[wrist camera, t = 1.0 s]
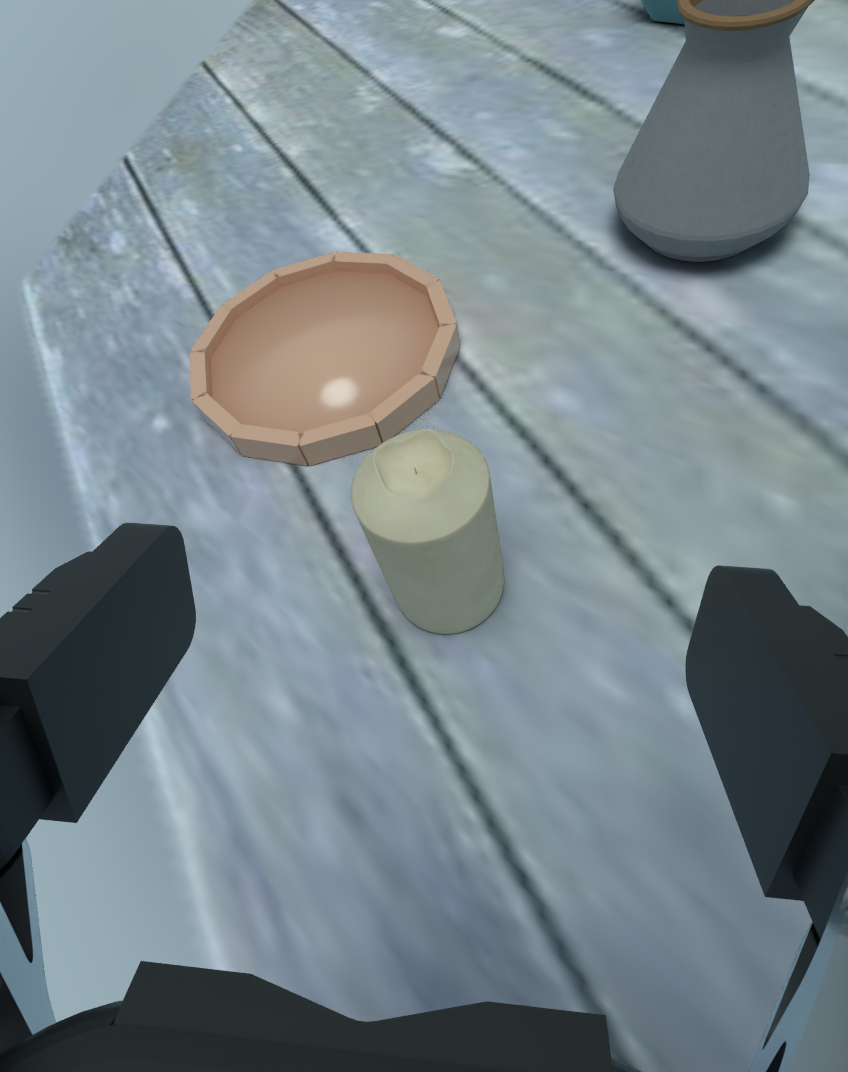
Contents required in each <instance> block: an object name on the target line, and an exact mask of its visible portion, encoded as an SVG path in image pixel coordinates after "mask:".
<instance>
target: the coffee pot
mask: <svg viewBox="0 0 848 1072" xmlns="http://www.w3.org/2000/svg"><path fill="white" fill-rule="evenodd" d="M813 1H814V0H678V3H677V6H678V10H679V13H680V16H682V17H683V18H684V19H685V34H686V42H685V44H684V46H683V48H682V50H681V52H680V53H679V55H678V57H677V59H676V61H675V63H674V65H673V67H672V69H671V71H670V73H669V75H668V77H667V79H666V81H665V83H664V85H663V87H662V89H661V91H660V92H659V94H658V96H657V98H656V100H655V102H654V104H653V106H652V108H651V110H650V112H649V114H648V116H647V118H646V120H645V122H644V124H643V126H642V128H641V129H640V131H639V133H638V135H637V137H636V139H635V141H634V143H633V145H632V147H631V149H630V151H629V153H628V155H627V157H626V159H625V161H624V163H623V165H622V167H621V168H620V170H619V173H618V176H617V179H616V182H615V186H614V196H615V203H616V208H617V210H618V212H619V215H620V217H621V219H622V220H623V222H624V223H625V225H626V226H627V228H628V229H629V230H630V231H631V232H632V233H633V234H634V235H636V236H637V237H638V238H639V239H641V240H642V241H643V242H645V243H646V245H648V246H649V247H650V248H652V249H653V250H654V251H655V252H657V253H660V254H662V255H664V256H666V257H669V258H673V259H678V260H682V261H694V262H705V261H715V260H720V259H724V258H728V257H731V256H734V255H736V254H738V253H741V252H743V251H745V250H747V249H748V248H749V247H751V246H753V245H756V244H758V243H760V242H762V241H763V240H765V239H767V238H769V237H771V236H772V235H774V234H775V233H776V232H777V231H778V230H780V229H781V228H782V227H783V226H784V225H786V224H787V223H788V222H789V221H790V219H791V218H792V217H793V216H794V215H795V214H796V213H797V211H798V210H799V208H800V206H801V205H802V203H803V201H804V200H805V198H806V196H807V194H808V186H809V168H808V161H807V154H806V148H805V141H804V134H803V127H802V120H801V114H800V107H799V100H798V93H797V86H796V80H795V73H794V66H793V59H792V52H791V46H790V39H789V36H790V34H791V33H792V31H793V29H794V28H795V26H796V25H797V23H798V22H799V20H800V19H801V17H802V15H803V14H804V12H805V11H806V9H807V8H808V6H809V5H810V4H811V3H812V2H813Z"/></svg>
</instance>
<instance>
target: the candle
mask: <svg viewBox="0 0 848 1072" xmlns="http://www.w3.org/2000/svg"><path fill="white" fill-rule="evenodd" d="M351 502H352V506H353V509H354V512H355V514H356V516H357V518H358V520H359V523H360V525H361V527H362V529H363V531H364V533H365V536H366V538H367V540H368V542H369V544H370V546H371V549H372V551H373V553H374V555H375V557H376V559H377V562H378V564H379V566H380V568H381V570H382V572H383V575H384V577H385V579H386V581H387V583H388V585H389V588H390V590H391V592H392V594H393V596H394V598H395V600H396V602H397V604H398V606H399V608H400V610H401V611H402V613H403V614H404V615H405V616H406V617H407V618H408V619H409V620H410V621H411V622H412V623H413V624H414V625H416V626H418V627H419V628H421V629H423V630H426V631H429V632H432V633H437V634H455V633H460V632H464V631H467V630H470V629H472V628H474V627H476V626H477V625H479V624H480V623H482V622H483V621H484V620H486V619H487V618H488V617H489V616H490V615H491V614H492V612H493V611H494V610H495V608H496V607H497V605H498V603H499V601H500V598H501V595H502V591H503V586H504V574H503V564H502V557H501V550H500V543H499V536H498V529H497V522H496V515H495V508H494V501H493V494H492V487H491V480H490V473H489V469H488V465H487V462H486V460H485V458H484V456H483V455H482V453H481V452H480V451H479V450H478V448H477V447H476V446H475V445H473V444H472V443H471V442H470V441H468V440H467V439H465V438H463V437H461V436H459V435H457V434H454V433H451V432H447V431H442V430H432V429H422V430H415V431H410V432H406V433H403V434H400V435H397V436H395V437H393V438H390V439H389V440H387V441H385V442H383V443H382V444H380V445H379V446H378V447H376V448H375V449H374V450H373V451H372V452H370V453H369V454H368V456H367V457H366V458H365V459H364V460H363V461H362V463H361V464H360V466H359V467H358V469H357V471H356V473H355V476H354V478H353V482H352V487H351Z"/></svg>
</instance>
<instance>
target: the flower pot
mask: <svg viewBox="0 0 848 1072" xmlns="http://www.w3.org/2000/svg"><path fill="white" fill-rule="evenodd" d="M642 3H643V5H644V7H645V9H646V11H647V13H648V14H649V16H650V18H651V19H652V20H654V21H660V22H669V23H678V24H685V19H684V18H683V17H682V16H680V13H679V10H678V6H677V3H678V0H642Z"/></svg>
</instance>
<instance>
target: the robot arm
mask: <svg viewBox="0 0 848 1072" xmlns="http://www.w3.org/2000/svg"><path fill="white" fill-rule="evenodd" d="M195 623H196V611H195V604H194V598H193V592H192V586H191V581H190V575H189V569H188V563H187V557H186V551H185V546H184V541H183V537H182V534H181V532H180V531H179V529H178V528H177V527H175V526H167V525H153V524H139V523H124V524H122V525H121V526H119V527H118V528H117V529H116V530H115V531H114V532H113V533H112V534H111V535H110V536H109V537H108V538H106V539H105V540H104V541H103V542H102V543H101V544H100V545H99V546H98V547H97V548H96V549H95V550H94V551H93V552H86V553H84V554H82V555H80V556H79V557H77V558H75V559H73V560H71V561H69V562H67V563H65V564H63V565H61V566H59V567H57V568H55V569H54V570H53V571H52V572H51V573H50V574H49V575H47V576H46V577H45V578H44V579H43V580H42V581H41V582H40V583H39V584H38V585H36V586H35V587H34V588H33V589H32V594H26V595H25V596H24V597H23V598H22V599H21V600H20V601H19V602H18V603H17V604H15V605H14V606H13V611H12V612H7V613H6V614H4V615H3V616H2V617H1V618H0V1072H640V1071H638V1070H637V1069H635V1068H633V1067H631V1066H630V1065H628V1064H625V1063H623V1062H621V1061H619V1060H616V1059H614V1058H612V1057H611V1053H610V1046H609V1038H608V1030H607V1023H606V1015H598V1014H589V1013H581V1012H572V1011H564V1010H555V1009H547V1008H538V1007H529V1006H521V1005H512V1004H504V1003H495V1002H482V1003H476V1004H470V1005H465V1006H459V1007H453V1008H448V1009H442V1010H436V1011H431V1012H425V1013H419V1014H414V1015H408V1016H402V1017H397V1018H391V1019H385V1020H380V1021H372V1022H363V1021H357V1020H354V1019H351V1018H348V1017H346V1016H344V1015H342V1014H339V1013H337V1012H335V1011H333V1010H330V1009H328V1008H326V1007H324V1006H321V1005H319V1004H317V1003H315V1002H312V1001H310V1000H308V999H306V998H304V997H301V996H299V995H297V994H295V993H292V992H290V991H288V990H286V989H283V988H281V987H279V986H277V985H274V984H272V983H270V982H268V981H266V980H263V979H261V978H259V977H257V976H254V975H252V974H247V973H239V972H230V971H222V970H213V969H205V968H196V967H187V966H179V965H170V964H161V963H153V962H145V961H141V962H140V964H139V966H138V969H137V971H136V973H135V975H134V977H133V980H132V982H131V984H130V986H129V988H128V991H127V993H126V995H125V997H124V1000H123V1001H118V1002H114V1003H110V1004H107V1005H103V1006H100V1007H97V1008H93V1009H90V1010H87V1011H84V1012H81V1013H78V1014H76V1015H73V1016H71V1017H69V1018H66V1019H64V1020H61V1021H59V1022H57V1023H56V1020H55V1017H54V1013H53V1010H52V1007H51V1003H50V999H49V995H48V991H47V985H46V979H45V971H44V963H43V954H42V945H41V937H40V928H39V919H38V911H37V902H36V893H35V885H34V876H33V868H32V858H31V852H30V848H29V845H28V843H27V841H26V837H27V836H28V834H29V833H30V831H31V830H32V828H33V827H34V826H35V824H36V823H37V821H38V820H39V819H43V820H53V821H62V822H73V823H77V822H78V820H79V818H80V817H81V815H82V814H83V812H84V810H85V809H86V807H87V806H88V804H89V803H90V801H91V800H92V798H93V797H94V795H95V794H96V792H97V790H98V789H99V787H100V786H101V784H102V783H103V781H104V779H105V778H106V776H107V775H108V773H109V772H110V770H111V769H112V767H113V765H114V764H115V762H116V761H117V759H118V758H119V756H120V754H121V753H122V751H123V750H124V748H125V747H126V745H127V744H128V742H129V740H130V739H131V737H132V736H133V734H134V733H135V731H136V730H137V728H138V726H139V725H140V723H141V722H142V720H143V719H144V717H145V716H146V714H147V712H148V711H149V709H150V708H151V706H152V705H153V703H154V701H155V700H156V698H157V697H158V695H159V694H160V692H161V691H162V689H163V687H164V686H165V684H166V683H167V681H168V680H169V678H170V677H171V675H172V673H173V672H174V670H175V669H176V667H177V666H178V664H179V663H180V661H181V659H182V658H183V656H184V655H185V653H186V652H187V650H188V648H189V646H190V644H191V641H192V638H193V635H194V630H195ZM686 682H687V687H688V691H689V694H690V697H691V700H692V703H693V705H694V708H695V711H696V713H697V716H698V719H699V721H700V724H701V727H702V729H703V732H704V735H705V737H706V740H707V743H708V745H709V748H710V751H711V753H712V756H713V759H714V761H715V764H716V767H717V769H718V772H719V775H720V777H721V780H722V783H723V786H724V788H725V791H726V794H727V796H728V799H729V802H730V804H731V807H732V810H733V812H734V815H735V818H736V820H737V823H738V826H739V828H740V831H741V834H742V836H743V839H744V842H745V844H746V847H747V850H748V852H749V855H750V858H751V860H752V863H753V866H754V869H755V871H756V874H757V877H758V879H759V882H760V885H761V887H762V890H763V893H764V895H765V897H771V898H781V899H791V900H800V901H804V903H805V905H806V907H807V910H808V912H809V914H810V917H811V919H812V922H811V923H810V925H809V927H808V929H807V931H806V933H805V935H804V937H803V939H802V942H801V944H800V946H799V949H798V951H797V954H796V956H795V959H794V961H793V964H792V966H791V969H790V971H789V974H788V976H787V978H786V981H785V983H784V986H783V988H782V991H781V993H780V996H779V998H778V1001H777V1003H776V1005H775V1008H774V1010H773V1013H772V1015H771V1018H770V1020H769V1023H768V1025H767V1028H766V1030H765V1033H764V1035H763V1037H762V1040H761V1042H760V1045H759V1047H758V1050H757V1052H756V1055H755V1057H754V1060H753V1062H752V1064H751V1067H750V1069H749V1071H748V1072H848V637H847V635H846V634H845V633H844V631H843V630H842V629H841V628H839V627H838V626H836V625H835V624H834V623H832V622H831V621H830V620H828V619H827V618H825V617H824V616H823V615H821V614H820V613H819V612H817V611H816V610H814V609H813V608H812V607H810V606H800V605H799V604H798V603H797V602H796V600H795V599H794V597H793V596H792V594H791V593H790V592H789V590H788V589H787V587H786V586H785V584H784V583H783V582H782V580H781V579H780V577H779V576H778V575H777V573H776V572H775V571H773V570H771V569H760V568H746V567H732V566H716V567H714V568H713V569H712V571H711V572H710V574H709V577H708V579H707V582H706V586H705V590H704V593H703V597H702V600H701V604H700V607H699V611H698V614H697V618H696V622H695V625H694V629H693V632H692V636H691V639H690V643H689V646H688V650H687V656H686Z"/></svg>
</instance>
